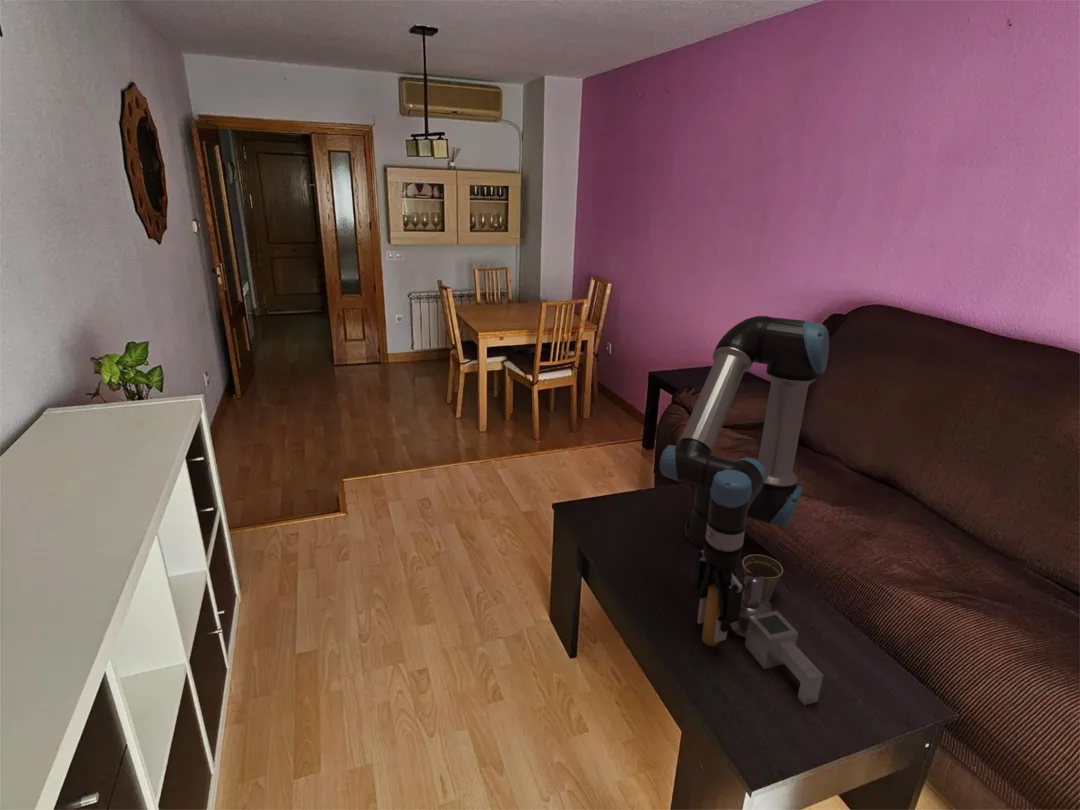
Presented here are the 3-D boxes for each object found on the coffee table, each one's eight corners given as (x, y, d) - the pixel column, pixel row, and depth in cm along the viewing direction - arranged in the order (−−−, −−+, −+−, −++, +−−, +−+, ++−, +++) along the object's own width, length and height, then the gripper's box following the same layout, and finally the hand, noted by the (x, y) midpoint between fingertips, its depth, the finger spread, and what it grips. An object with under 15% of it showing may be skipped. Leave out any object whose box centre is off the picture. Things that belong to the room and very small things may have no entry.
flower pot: (744, 577, 152) (748, 549, 148) (782, 591, 147) (787, 562, 143) (732, 597, 144) (737, 568, 141) (771, 612, 139) (777, 583, 136)
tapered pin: (708, 631, 134) (715, 581, 128) (721, 641, 131) (729, 590, 126) (698, 638, 132) (704, 588, 126) (711, 648, 129) (718, 597, 124)
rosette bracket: (829, 698, 117) (843, 643, 111) (791, 709, 114) (803, 653, 109) (751, 611, 140) (759, 562, 135) (718, 618, 138) (725, 569, 132)
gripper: (683, 523, 128) (673, 608, 137) (737, 572, 112) (723, 665, 121) (711, 516, 131) (700, 600, 139) (768, 563, 115) (752, 655, 123)
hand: (711, 630), depth 130 cm, fingers open, 5 cm apart
